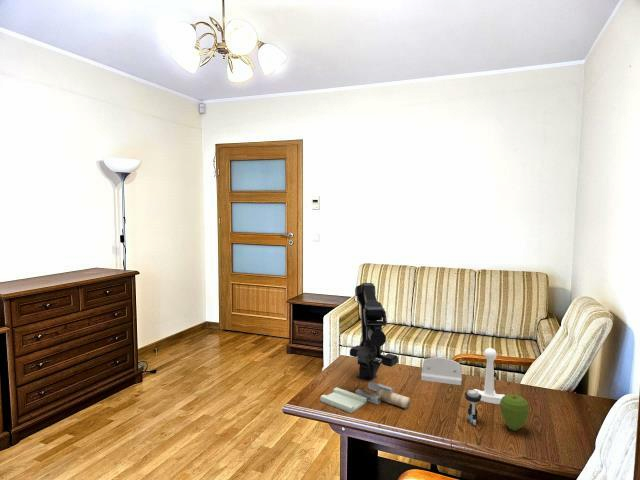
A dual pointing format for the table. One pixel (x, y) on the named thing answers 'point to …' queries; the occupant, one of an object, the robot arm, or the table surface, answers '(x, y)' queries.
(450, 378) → the gray wall bracket
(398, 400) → the maple axle
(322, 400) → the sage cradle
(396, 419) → the table surface
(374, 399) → the steel guide
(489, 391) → the joystick
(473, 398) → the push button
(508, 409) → the apple
